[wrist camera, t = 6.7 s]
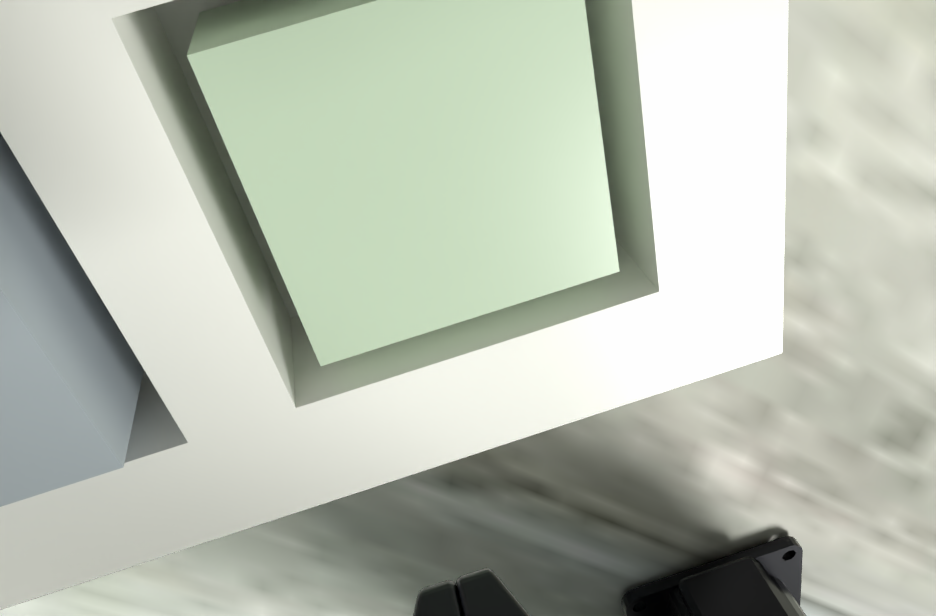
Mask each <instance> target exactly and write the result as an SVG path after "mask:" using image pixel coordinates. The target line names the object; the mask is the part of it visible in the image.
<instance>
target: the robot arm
mask: <svg viewBox="0 0 936 616" xmlns="http://www.w3.org/2000/svg"><path fill="white" fill-rule="evenodd" d="M802 552H803V551H802V548H801V546H800V545H799V543H798V542H797V541H796V539H795V538H793V537H789V536H788V537H783V538H780V539H777V540H774V541H771V542H768V543H765V544H762V545H760V546H757V547H754V548H751V549H748V550H745V551H742V552H739V553H736V554H733V555H730V556H728V557H725V558H722V559H719V560H716V561H713V562H710V563H707V564H704V565H701V566H698V567H696V568H693V569H690V570H687V571H684V572H681V573H678V574H675V575H672V576H669V577H666V578H664V579H661V580H658V581H655V582H652V583H649V584H646V585H643V586H640V587H637V588H634V589H632V590H630V591H628V592H627V593H626V594H625V595H624V596H623V598H622V607H623V612H624V616H806V615H805V613H804V612H803V610H802V609H801V607H800V596H801V574H802ZM456 585H457V586H456ZM413 616H530V615H529V614H528V613H527V612H526V611H525V609H524V608H523V607H522V606H521V604H520V603H519V602H518V601H517V600H516V598H515V597H514V596H513V595H512V593H511V592H510V591H509V590H508V589H507V587H506V586H505V585H504V584H503V582H502V581H501V580H500V579H499V578H498V576H497V575H496V574H495V573H494V572H493V571H492V570H490V569H487V568H485V569H482V570H478V571H475V572H472V573H469V574H466V575H463V576H461V577H459V578H458V579H457V582H456V584H455V582H453V581H451V580H447V581H444V582H441V583H438V584H435V585H432V586H429V587H425V588H423V589H422V590H421V591H420V592H419V594H418V596H417V599H416V604H415V609H414V613H413Z"/></svg>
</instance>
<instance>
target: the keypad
mask: <svg viewBox="0 0 936 616" xmlns="http://www.w3.org/2000/svg"><path fill="white" fill-rule="evenodd" d="M237 1H241V0H0V132H1V134H2V136H3V137H4V139H5V140H6V142H7V144H8V145H9V147H10V149H11V150H12V152H13V154H14V155H15V157H16V159H17V160H18V162H19V164H20V165H21V167H22V169H23V170H24V172H25V174H26V175H27V177H28V179H29V180H30V182H31V184H32V185H33V187H34V188H35V190H36V192H37V193H38V195H39V197H40V198H41V200H42V202H43V203H44V205H45V207H46V208H47V210H48V212H49V213H50V215H51V217H52V218H53V220H54V222H55V223H56V225H57V227H58V228H59V230H60V231H61V233H62V235H63V236H64V238H65V240H66V241H67V243H68V245H69V246H70V248H71V250H72V251H73V253H74V255H75V256H76V258H77V260H78V261H79V263H80V265H81V266H82V268H83V270H84V271H85V273H86V275H87V276H88V278H89V279H90V281H91V283H92V284H93V286H94V288H95V289H96V291H97V293H98V294H99V296H100V298H101V299H102V301H103V303H104V304H105V306H106V308H107V309H108V311H109V313H110V314H111V316H112V318H113V319H114V321H115V322H116V324H117V326H118V327H119V329H120V331H121V332H122V334H123V336H124V337H125V339H126V341H127V342H128V344H129V346H130V347H131V349H132V351H133V352H134V354H135V356H136V357H137V359H138V361H139V362H140V364H141V365H142V367H143V369H144V371H143V376H142V381H141V386H140V391H139V395H138V400H137V405H136V410H135V415H134V419H133V424H132V429H131V434H130V439H129V444H128V448H127V453H126V458H125V463H124V467H123V468H120V469H117V470H114V471H111V472H107V473H104V474H101V475H98V476H95V477H92V478H89V479H86V480H83V481H79V482H76V483H73V484H70V485H67V486H64V487H61V488H58V489H54V490H51V491H48V492H45V493H42V494H39V495H36V496H33V497H30V498H26V499H23V500H20V501H17V502H14V503H11V504H8V505H5V506H1V507H0V610H2V609H5V608H8V607H11V606H14V605H17V604H20V603H23V602H26V601H29V600H32V599H36V598H39V597H42V596H45V595H48V594H51V593H54V592H57V591H60V590H63V589H66V588H69V587H72V586H75V585H78V584H81V583H84V582H87V581H90V580H93V579H96V578H99V577H102V576H106V575H109V574H112V573H115V572H118V571H121V570H124V569H127V568H130V567H133V566H136V565H139V564H142V563H145V562H148V561H151V560H154V559H157V558H160V557H163V556H166V555H169V554H172V553H175V552H179V551H182V550H185V549H188V548H191V547H194V546H197V545H200V544H203V543H206V542H209V541H212V540H215V539H218V538H221V537H224V536H227V535H230V534H233V533H236V532H239V531H242V530H245V529H249V528H252V527H255V526H258V525H261V524H264V523H267V522H270V521H273V520H276V519H279V518H282V517H285V516H288V515H291V514H294V513H297V512H300V511H303V510H306V509H309V508H312V507H315V506H319V505H322V504H325V503H328V502H331V501H334V500H337V499H340V498H343V497H346V496H349V495H352V494H355V493H358V492H361V491H364V490H367V489H370V488H373V487H376V486H379V485H382V484H385V483H389V482H392V481H395V480H398V479H401V478H404V477H407V476H410V475H413V474H416V473H419V472H422V471H425V470H428V469H431V468H434V467H437V466H440V465H443V464H446V463H449V462H452V461H455V460H459V459H462V458H465V457H468V456H471V455H474V454H477V453H480V452H483V451H486V450H489V449H492V448H495V447H498V446H501V445H504V444H507V443H510V442H513V441H516V440H519V439H522V438H525V437H529V436H532V435H535V434H538V433H541V432H544V431H547V430H550V429H553V428H556V427H559V426H562V425H565V424H568V423H571V422H574V421H577V420H580V419H583V418H586V417H589V416H592V415H595V414H599V413H602V412H605V411H608V410H611V409H614V408H617V407H620V406H623V405H626V404H629V403H632V402H635V401H638V400H641V399H644V398H647V397H650V396H653V395H656V394H659V393H662V392H665V391H668V390H672V389H675V388H678V387H681V386H684V385H687V384H690V383H693V382H696V381H699V380H702V379H705V378H708V377H711V376H714V375H717V374H720V373H723V372H726V371H729V370H732V369H735V368H738V367H742V366H745V365H748V364H751V363H754V362H757V361H760V360H763V359H766V358H769V357H772V356H775V355H778V354H781V353H782V348H783V291H784V233H785V176H786V119H787V62H788V4H789V0H585V7H586V15H587V22H588V30H589V38H590V46H591V54H592V61H593V69H594V77H595V85H596V92H597V100H598V108H599V116H600V123H601V131H602V139H603V147H604V155H605V162H606V170H607V178H608V186H609V193H610V201H611V209H612V217H613V225H614V232H615V240H616V248H617V256H618V263H619V271H620V272H616V273H613V274H610V275H607V276H604V277H601V278H598V279H594V280H591V281H588V282H585V283H582V284H579V285H576V286H572V287H569V288H566V289H563V290H560V291H557V292H554V293H550V294H547V295H544V296H541V297H538V298H535V299H531V300H528V301H525V302H522V303H519V304H516V305H513V306H509V307H506V308H503V309H500V310H497V311H494V312H491V313H487V314H484V315H481V316H478V317H475V318H472V319H469V320H465V321H462V322H459V323H456V324H453V325H450V326H446V327H443V328H440V329H437V330H434V331H431V332H428V333H424V334H421V335H418V336H415V337H412V338H409V339H406V340H402V341H399V342H396V343H393V344H390V345H387V346H384V347H380V348H377V349H374V350H371V351H368V352H365V353H362V354H358V355H355V356H352V357H349V358H346V359H343V360H339V361H336V362H333V363H330V364H327V365H324V366H320V364H319V361H318V359H317V357H316V355H315V352H314V350H313V348H312V345H311V343H310V341H309V338H308V336H307V334H306V331H305V329H304V327H303V324H302V322H301V320H300V317H299V315H298V313H297V310H296V308H295V306H294V303H293V301H292V299H291V296H290V294H289V292H288V290H287V287H286V285H285V283H284V280H283V278H282V276H281V273H280V271H279V269H278V266H277V264H276V262H275V259H274V257H273V255H272V252H271V250H270V248H269V245H268V243H267V241H266V238H265V236H264V234H263V232H262V229H261V227H260V225H259V222H258V220H257V218H256V215H255V213H254V211H253V208H252V206H251V204H250V201H249V199H248V197H247V194H246V192H245V190H244V187H243V185H242V183H241V180H240V178H239V176H238V174H237V171H236V169H235V167H234V164H233V162H232V160H231V157H230V155H229V153H228V150H227V148H226V146H225V143H224V141H223V139H222V136H221V134H220V132H219V129H218V127H217V125H216V122H215V120H214V118H213V115H212V113H211V111H210V109H209V106H208V104H207V102H206V99H205V97H204V95H203V92H202V90H201V88H200V85H199V83H198V81H197V78H196V76H195V74H194V71H193V69H192V67H191V64H190V62H189V60H188V57H187V53H188V49H189V46H190V43H191V39H192V36H193V33H194V29H195V26H196V23H197V19H198V16H199V12H202V11H206V10H209V9H213V8H216V7H220V6H223V5H227V4H230V3H234V2H237Z"/></svg>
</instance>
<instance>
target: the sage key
mask: <svg viewBox="0 0 936 616" xmlns="http://www.w3.org/2000/svg"><path fill="white" fill-rule="evenodd" d="M187 57H188V60H189V62H190V64H191V67H192V69H193V71H194V74H195V76H196V78H197V81H198V83H199V85H200V88H201V90H202V92H203V95H204V97H205V99H206V102H207V104H208V106H209V109H210V111H211V113H212V115H213V118H214V120H215V122H216V125H217V127H218V129H219V132H220V134H221V136H222V139H223V141H224V143H225V146H226V148H227V150H228V153H229V155H230V157H231V160H232V162H233V164H234V167H235V169H236V171H237V174H238V176H239V178H240V180H241V183H242V185H243V187H244V190H245V192H246V194H247V197H248V199H249V201H250V204H251V206H252V208H253V211H254V213H255V215H256V218H257V220H258V222H259V225H260V227H261V229H262V232H263V234H264V236H265V238H266V241H267V243H268V245H269V248H270V250H271V252H272V255H273V257H274V259H275V262H276V264H277V266H278V269H279V271H280V273H281V276H282V278H283V280H284V283H285V285H286V287H287V290H288V292H289V294H290V296H291V299H292V301H293V303H294V306H295V308H296V310H297V313H298V315H299V317H300V320H301V322H302V324H303V327H304V329H305V331H306V334H307V336H308V338H309V341H310V343H311V345H312V348H313V350H314V352H315V355H316V357H317V359H318V361H319V364H320V366H324V365H327V364H330V363H333V362H336V361H339V360H343V359H346V358H349V357H352V356H355V355H358V354H362V353H365V352H368V351H371V350H374V349H377V348H380V347H384V346H387V345H390V344H393V343H396V342H399V341H402V340H406V339H409V338H412V337H415V336H418V335H421V334H424V333H428V332H431V331H434V330H437V329H440V328H443V327H446V326H450V325H453V324H456V323H459V322H462V321H465V320H469V319H472V318H475V317H478V316H481V315H484V314H487V313H491V312H494V311H497V310H500V309H503V308H506V307H509V306H513V305H516V304H519V303H522V302H525V301H528V300H531V299H535V298H538V297H541V296H544V295H547V294H550V293H554V292H557V291H560V290H563V289H566V288H569V287H572V286H576V285H579V284H582V283H585V282H588V281H591V280H594V279H598V278H601V277H604V276H607V275H610V274H613V273H616V272H620V271H619V263H618V256H617V248H616V240H615V232H614V225H613V217H612V209H611V201H610V193H609V186H608V178H607V170H606V162H605V155H604V147H603V139H602V131H601V123H600V116H599V108H598V100H597V92H596V85H595V77H594V69H593V61H592V54H591V46H590V38H589V30H588V22H587V15H586V7H585V0H241V1H237V2H234V3H230V4H227V5H223V6H220V7H216V8H213V9H209V10H206V11H202V12H199V16H198V19H197V23H196V26H195V29H194V33H193V36H192V39H191V43H190V46H189V49H188V53H187Z"/></svg>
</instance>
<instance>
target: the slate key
mask: <svg viewBox="0 0 936 616" xmlns="http://www.w3.org/2000/svg"><path fill="white" fill-rule="evenodd" d="M143 371H144V369H143V367H142V365H141V364H140V362H139V361H138V359H137V357H136V356H135V354H134V352H133V351H132V349H131V347H130V346H129V344H128V342H127V341H126V339H125V337H124V336H123V334H122V332H121V331H120V329H119V327H118V326H117V324H116V322H115V321H114V319H113V318H112V316H111V314H110V313H109V311H108V309H107V308H106V306H105V304H104V303H103V301H102V299H101V298H100V296H99V294H98V293H97V291H96V289H95V288H94V286H93V284H92V283H91V281H90V279H89V278H88V276H87V275H86V273H85V271H84V270H83V268H82V266H81V265H80V263H79V261H78V260H77V258H76V256H75V255H74V253H73V251H72V250H71V248H70V246H69V245H68V243H67V241H66V240H65V238H64V236H63V235H62V233H61V231H60V230H59V228H58V227H57V225H56V223H55V222H54V220H53V218H52V217H51V215H50V213H49V212H48V210H47V208H46V207H45V205H44V203H43V202H42V200H41V198H40V197H39V195H38V193H37V192H36V190H35V188H34V187H33V185H32V184H31V182H30V180H29V179H28V177H27V175H26V174H25V172H24V170H23V169H22V167H21V165H20V164H19V162H18V160H17V159H16V157H15V155H14V154H13V152H12V150H11V149H10V147H9V145H8V144H7V142H6V140H5V139H4V137H3V136H2V134H1V132H0V507H1V506H5V505H8V504H11V503H14V502H17V501H20V500H23V499H26V498H30V497H33V496H36V495H39V494H42V493H45V492H48V491H51V490H54V489H58V488H61V487H64V486H67V485H70V484H73V483H76V482H79V481H83V480H86V479H89V478H92V477H95V476H98V475H101V474H104V473H107V472H111V471H114V470H117V469H120V468H123V467H124V463H125V458H126V453H127V448H128V444H129V439H130V434H131V429H132V424H133V419H134V415H135V410H136V405H137V400H138V395H139V391H140V386H141V381H142V376H143Z"/></svg>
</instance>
